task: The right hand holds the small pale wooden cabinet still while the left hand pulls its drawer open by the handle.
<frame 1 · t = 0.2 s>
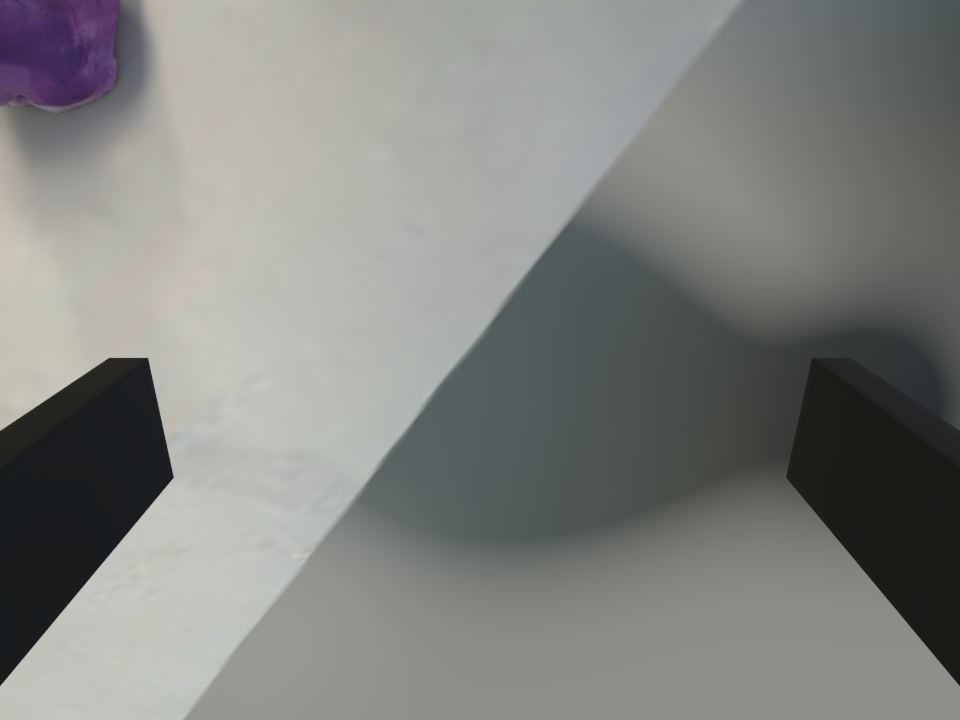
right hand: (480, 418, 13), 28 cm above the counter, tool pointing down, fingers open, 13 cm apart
figurine: (51, 46, 35), on the counter
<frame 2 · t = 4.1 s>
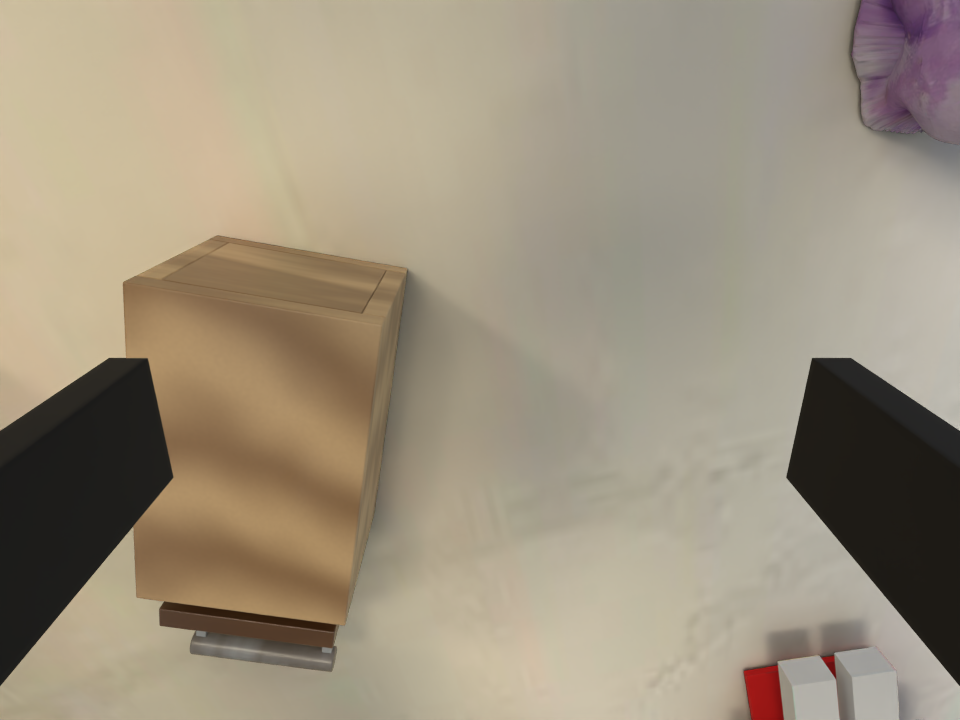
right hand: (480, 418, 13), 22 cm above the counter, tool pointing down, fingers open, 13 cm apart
drawer: (272, 523, 35), point 5 cm above the counter, slide at 1.6 cm
cabinet: (302, 386, 37), on the counter
figurine: (932, 37, 30), on the counter
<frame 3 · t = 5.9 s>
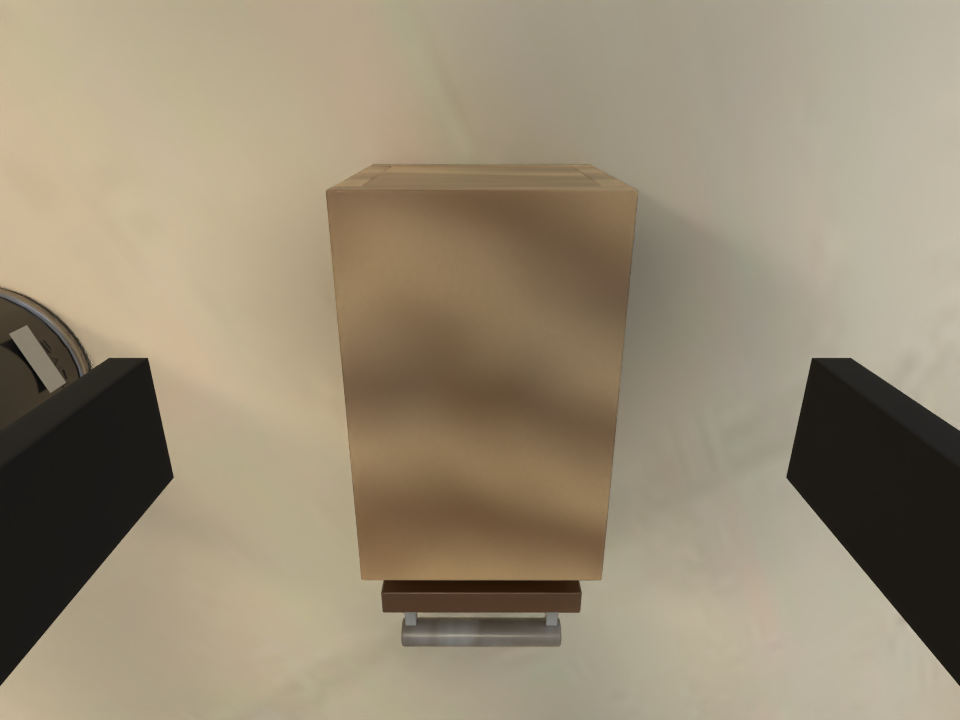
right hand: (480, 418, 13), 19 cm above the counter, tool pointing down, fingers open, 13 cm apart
drawer: (481, 482, 30), point 5 cm above the counter, slide at 1.6 cm
cabinet: (481, 328, 32), on the counter
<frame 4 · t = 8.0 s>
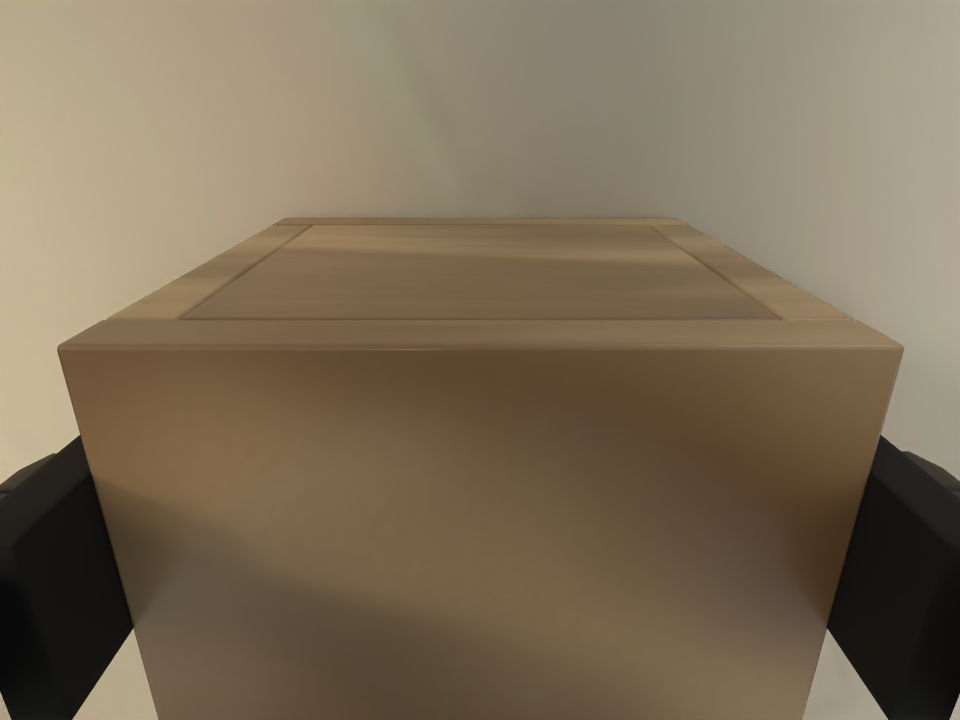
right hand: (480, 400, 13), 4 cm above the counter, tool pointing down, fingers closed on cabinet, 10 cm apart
cabinet: (480, 483, 19), on the counter, touching right hand
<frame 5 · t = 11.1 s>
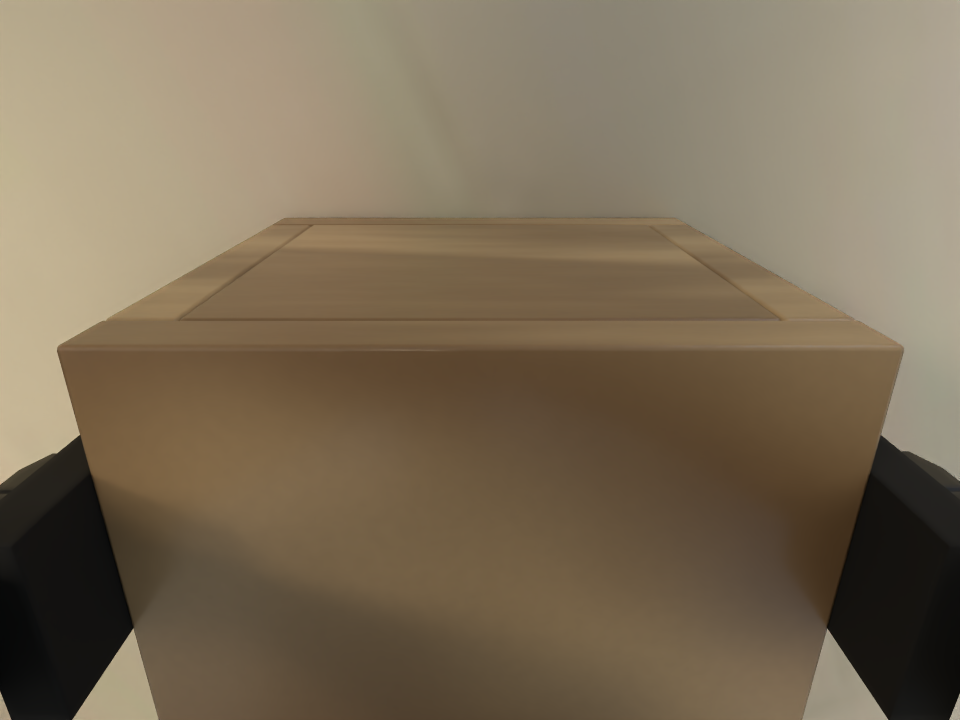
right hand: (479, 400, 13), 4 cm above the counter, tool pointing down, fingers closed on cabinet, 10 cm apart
cabinet: (480, 483, 19), on the counter, touching right hand
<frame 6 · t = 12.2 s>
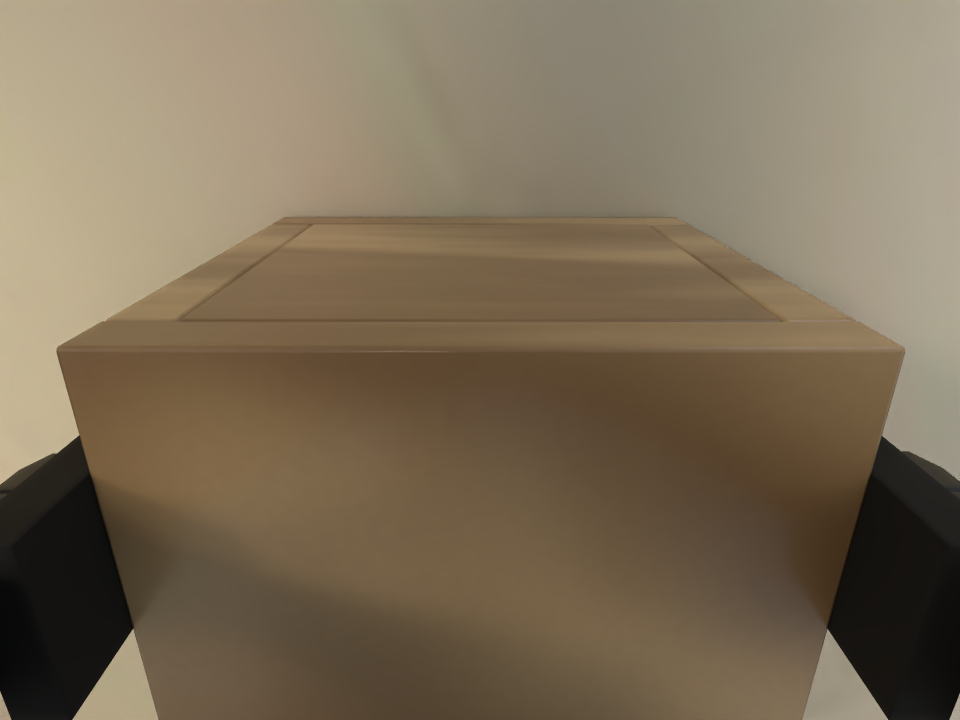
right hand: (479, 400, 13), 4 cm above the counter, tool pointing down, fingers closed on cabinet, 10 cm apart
cabinet: (480, 482, 19), on the counter, touching right hand
when the right hand's fingers open (4 cm above the counter, at t = 13.7 s): cabinet stays where it is, on the counter.
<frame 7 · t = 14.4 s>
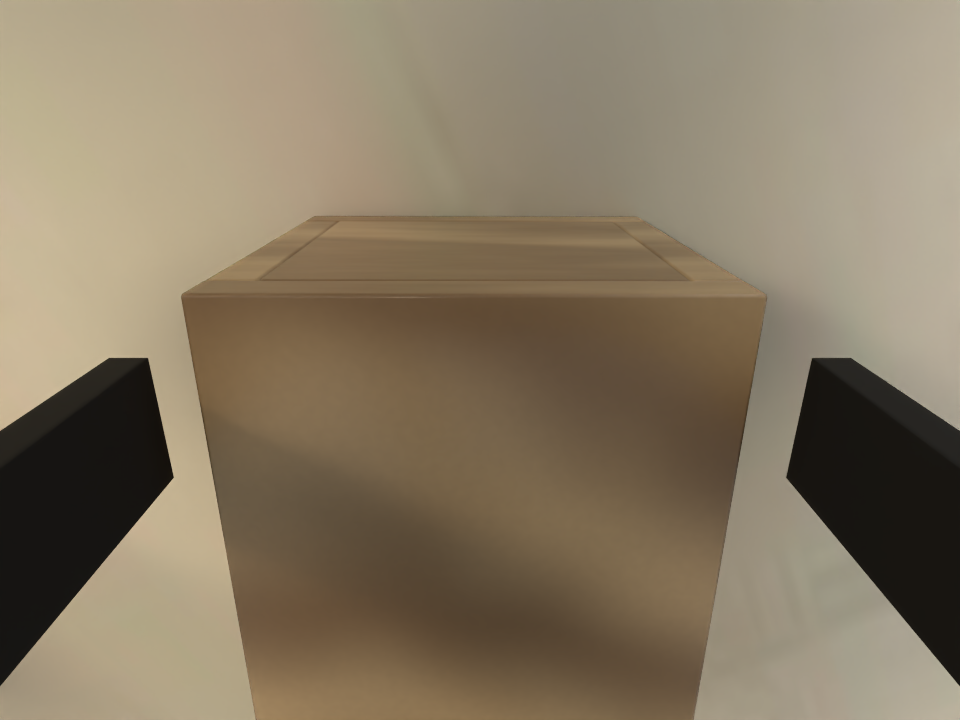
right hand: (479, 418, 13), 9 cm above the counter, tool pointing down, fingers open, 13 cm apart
cabinet: (475, 443, 23), on the counter
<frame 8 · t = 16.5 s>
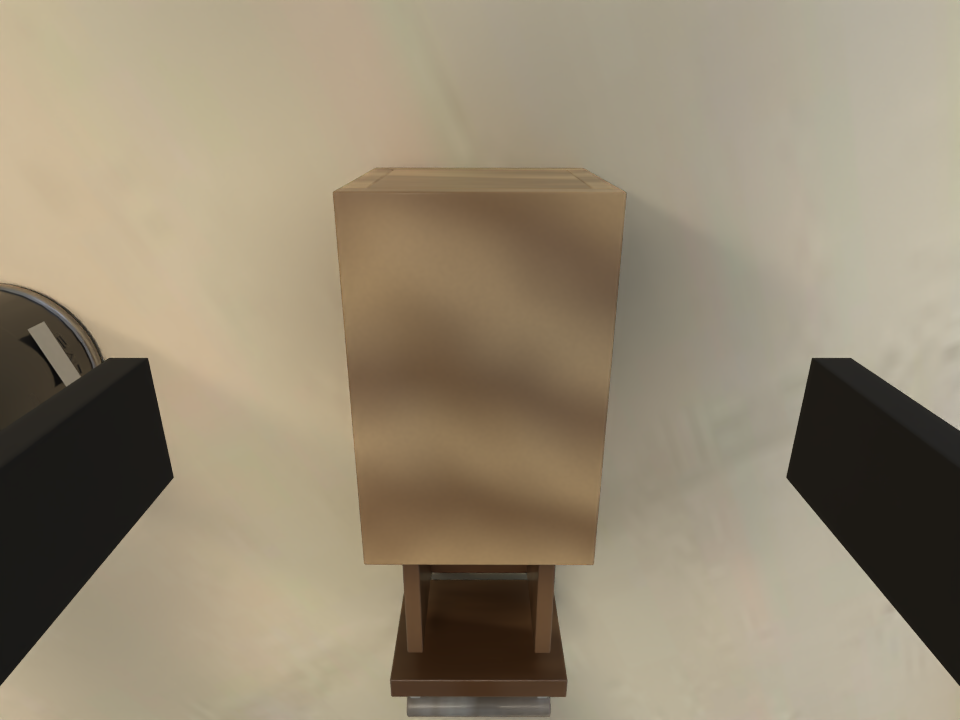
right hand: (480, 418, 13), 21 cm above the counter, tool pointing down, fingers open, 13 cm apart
drawer: (479, 576, 34), point 5 cm above the counter, slide at 8.3 cm
cabinet: (479, 325, 34), on the counter
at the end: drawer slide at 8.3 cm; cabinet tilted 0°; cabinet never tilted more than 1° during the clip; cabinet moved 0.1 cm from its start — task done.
